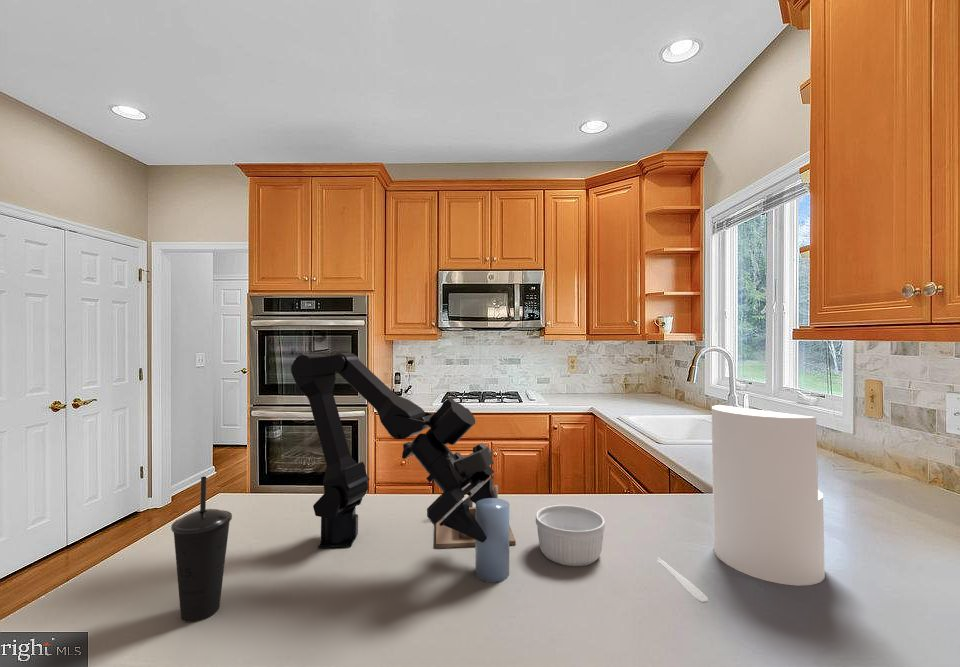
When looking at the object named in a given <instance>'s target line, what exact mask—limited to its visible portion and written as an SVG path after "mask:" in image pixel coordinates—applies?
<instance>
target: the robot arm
mask: <svg viewBox="0 0 960 667" xmlns="http://www.w3.org/2000/svg"><path fill="white" fill-rule="evenodd" d="M290 372H291V375H292V378H293V380H294V382H295V384H296V387H297V389H299V390H300V391H301V392H302V394H303V395H304V396H305V397H306V398H307V399H308V402H309V406H310V410H311V413H312V417H313V420H314V425H315V428H316V431H317V436H318V438H319V442H320V446H321V450H322V453H323V457H324V461H325V465H326V468H325V472H324V476H323V480H322V484H323V492H324V493H323V494H322V495H321V497H320V498H318V499H317V500H316V501H315V503H314V504H313V506H312V508H313V511H314V515H315V516H316V517H320V541H319V542H318V545H317V548H321V549H322V548H327V549H328V548H344V547H345V548H347V547H348V548H349V547H351V546H352V545H353V543H354V542H355V540H356V539H357V537H358V535H359V534H358V533H359V515H358V513H357V512H356V507H357V506H360V505H361V504H362V501H363V498H364V497H365V496H366V494H367V491H368V490H369V483H368V482H369V481H370V478H369V476H368V474H367V471H366V465H365V463H364V461H360V462H357V461H356V460H355V459H354V458H353V457H352V455H351V452H350V449H349V446H348V442H347V438H346V435H345V432H344V427H343V424H342V421H341V416H340V414H339V410H338V407H337V404H336V400H335V397H334V391H333V390H334V387H335V382H336V374H338V375H340V377H342V378H343V379H344V380H345V382H347V383H348V384H349V385H350V386H351V387H352V388H353V389H354V390H355V391H356V392H357V393H359V395H360V396H361V397H362V398H363V399H364V400H365V401H366V402H367V403H368V404H369V405H370V406H371V407H373V408H374V409H375V411H376V412H377V414H378V417H379V421H380V423H381V425H382V426H383V427H384V429H385V430H386V431H387V433H388V435H390V437H392V438H393V439H395V440H405V439H407V438H411V437H412V436H415V438H413V440H412V441H408V442H406V443H403V444H402V447H403V449H402V454H401V459H403V460H405V459H407V458H409V457H412V456H414V458H415V459H416V460H417V461H418V462H419V464H420V465H421V466H422V467H423V469H424V470H425V471H426V473H427V474H428V476H427V477H426V478H425V479H426V480H427V481H428V483H429V484H430V483H432V482H433V481H434V483H435V484H436V485H437V486H438V488H439V489H440V490H441V491H442V493H441V494H440V495H439V496H438V497H437V498H436V499H435V500H434V501H433V502H432V503H431V504H430V505H429V506H428V507H427V508H426V517H427V518H428V520H429V521H430V522H431V524H432V525H433V526H435V525H436V523H438V522H439V521H440V520H441V519H442V518H444V520H443V521H442V522H441V523H440V524H439V525H440V526H443V525H444V526H447V527H449V528H452V529H454V530H457V531H459V532H461V533H463V534H465V535H467V536H469V537H472V538H474V539H476V540H478V541H480V542H482V543H483V542H484V541H485V540H486V539H487V537H486V535H485V533H484V532H483V530H482V528H481V527H480V525H479V524H478V522H477V521H476V519H475V518H474V516H473V515H472V513H471V512H470V510H469V499H470V500H471V501H472V502H473V504H475V505H476V502H477V501H479V500H481V499H486V498H496V497H495V494H494V479H495V476H494V474H495V471H494V469H493V468H492V467H491V465H492V466H493V465H494V460H493V458H492V455H493V454H494V452H493V450H492V449H490V448H489V446H486V444H484V443H483V442H482V443H481V442H480V443H479V444H476V445H474V446H473V447H472V453H469V454H468V455H467V454H466V455H465V456H463V455H462V454H461V452H455V453H453V452H452V451H451V449H449V446H447V445H451V446H454V445H456V444H457V443H458V442H459V441H460V440H461V439H462V437H464V435H465V434H466V433H468V431H469V430H470V429H471V428H472V427H473V426H474V425H475V424H476V419H475V418H476V417H475V415H473V412H472V411H471V410H470V409H469V408H468V407H465V406H464V405H462V404H461V403H460V402H457V401H455V400H454V399H453V398H452V397H449V398H447V399H445V400H444V401H443V403H442V404H441V406H440V407H439V408H438V409H437V410H436V411H435V412H434V413H432V412H428V411H427V412H426V411H425V410H424V409H423V408H422V407H420V406H419V405H417V404H416V403H414V402H413V401H411V399H410V400H409V399H407V398H405V397H403V396H400V395H398V394H396V393H395V392H394V391H392V389H391V388H389V387H388V386H387V385H386V384H385V383H384V382H383V381H382V380H381V379H380V378H379V377H378V376H377V375H376V374H374V373H373V372H372V371H371V370H370V369H369V368H368V367H367V366H366V365H365V364H364V363H362V362H361V360H360V358H359V357H358V356H357V355H356V354H354V353H344V352H343V353H337V354H335V355H329V356H328V355H326V354H301V355H298V356H296V357H295V359H294V360H293V363H292V365H291V366H290ZM425 429H428V430H427V431H426V432H425V433H423V432H422V431H424V430H425ZM471 494H473V496H472V497H470V498H468V497H467V498H465V496H466V495H467V496H468V495H469V496H470V495H471ZM464 498H465V499H464Z"/></svg>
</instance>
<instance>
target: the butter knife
mask: <svg viewBox="0 0 960 667" xmlns="http://www.w3.org/2000/svg"><path fill="white" fill-rule="evenodd" d="M655 562H657V563H658V564H660V565H662V567H664V568H665V570H667V572H669V573H670V574H671V576H672V577H673V578H674V579H675V580H676V581H677V583H678V584H679V585H680V586H681V587H683V589H684V590H685V591H686V592H687V593H688V594H690V595H691V597H693V598H694V599H695V600H697V601H699V602H700V603H708V602H709V599H708V596H707V595H706V594H705V593H704V592H702V591H701V589H699V588H698V587H697V586H696V585H695V584H694V583H693V582H691V581H690V580H688V579H687V578H686V577H684V575H682V574H681V573H679V572H678V571H676V570H675V569H674V568H673V567H671V566H670V565H669V564H668V563H667V562H666V561H664V560H663V559H661V557H659V556H657V559H656V561H655Z"/></svg>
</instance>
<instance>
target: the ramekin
mask: <svg viewBox="0 0 960 667" xmlns="http://www.w3.org/2000/svg"><path fill="white" fill-rule="evenodd" d="M535 525H537V527H536V528H537V529H536V530H537V537H538V544H539V548H540V550H541V552H542V553H543V555H544V556H545V557H546V558H547V559H549V560H550V561H552V562H554V563H556V564H560V565H563V566H569V567H583V566H589V565H592V564H593V563H594V562H596V561H597V560H598V559H599V557H600V556H601V554H602V550H603V540H604V533H605V532H604V531H605V530H606V522H605V518H604V517H603V516H602V515H601V513H599V512H597V511H595V510H593V509H590V508H586V507H583V506H579V505H571V504H556V505H555V504H554V505H549V506H545V507H542V508H541V509H539V510H538V511H537V512H536V515H535Z"/></svg>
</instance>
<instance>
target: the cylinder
mask: <svg viewBox="0 0 960 667" xmlns="http://www.w3.org/2000/svg"><path fill="white" fill-rule="evenodd" d="M817 427H818V426H817V417H816V416H810V415H809V416H808V415H802V414H793V413H787V412H780V411H779V412H777V411H771V410H770V411H769V410H762V409H755V408H754V409H753V408H746V407H739V406H731V405H721V404H717V405H712V406H711V446H712V448H711V455H712V460H711V462H712V463H711V466H712V523H713V524H712V525H713V526H712V527H713V528H712V532H713V534H712V535H713V537H712V538H713V550H714V551H713V552H714V554H715V555H716V557H717V558H718V559H719V560H720V561H722V562H723V563H724V564H725V565H727V566H729V567H731V568H732V569H735V570H736V571H738V572H740V573H743V574H746V575H748V576H750V577H753V578H755V579H756V578H757V579H759V580H763V581H766V582H772V583H776V584H780V585H789V586H790V585H791V586H798V587H799V586H800V587H801V586H812V585H816V584H819V583H821V582H823V580H825V576H826V570H825V569H826V568H825V565H826V564H825V563H826V562H825V559H826V558H825V526H824V524H825V519H824V518H825V517H824V493H823V492H821V490H819V481H818V479H819V478H818V477H819V476H818V473H819V472H818V434H817V429H818V428H817Z"/></svg>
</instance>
